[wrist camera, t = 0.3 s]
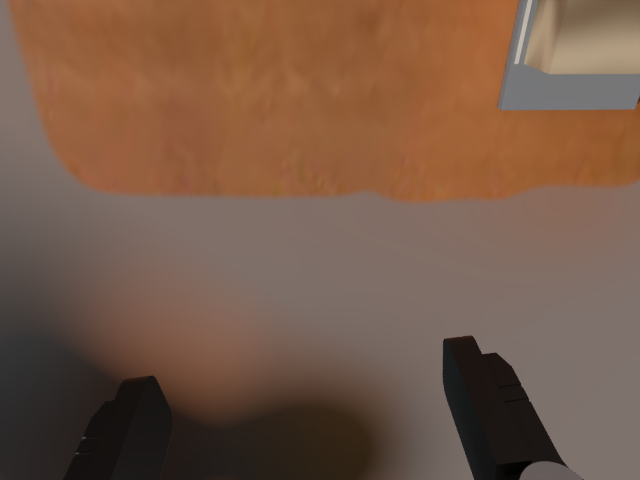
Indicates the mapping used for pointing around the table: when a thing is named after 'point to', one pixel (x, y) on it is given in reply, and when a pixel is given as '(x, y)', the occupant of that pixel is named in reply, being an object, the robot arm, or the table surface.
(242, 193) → the table surface
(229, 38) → the table surface
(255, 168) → the table surface
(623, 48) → the pedestal
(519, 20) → the plate
